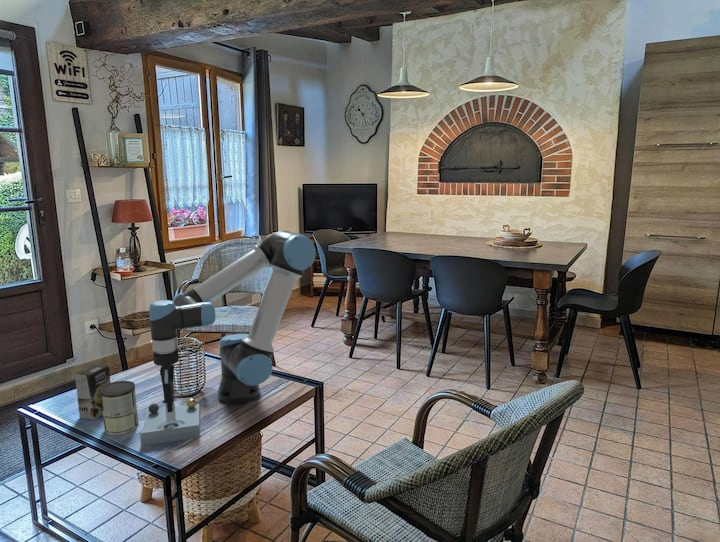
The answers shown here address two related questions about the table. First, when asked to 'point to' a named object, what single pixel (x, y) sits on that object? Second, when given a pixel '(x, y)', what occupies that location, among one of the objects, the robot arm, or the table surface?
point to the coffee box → (91, 390)
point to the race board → (158, 424)
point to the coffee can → (119, 407)
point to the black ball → (153, 408)
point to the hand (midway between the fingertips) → (171, 419)
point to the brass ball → (191, 403)
